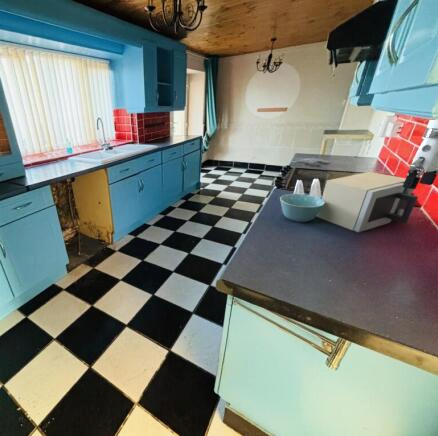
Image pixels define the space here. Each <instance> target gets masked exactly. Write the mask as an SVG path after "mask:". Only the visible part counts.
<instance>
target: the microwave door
mask: <svg viewBox="0 0 438 436" xmlns="http://www.w3.org/2000/svg"><path fill="white" fill-rule="evenodd" d="M403 184H404V183H398V184H394V185H390V186H386V187H382V188H377V189H373V190H369V191H368V192H367V195H366V198H365V200H364V203H363V206H362V209H361V212H360V214H359V217H358V220H357V223H356V226H355V228H354V230H353V231H354V232H356V233H361V232H364V231H367V230H371V229H374V228H377V227H380V226H384V225H386V224H390V223H391V222H392V221H391V219H392V220H394V221H395V222H398V223H402V224H406V223H407V222H408V221H409V219H410V218H409V217H410V216H411V214H412V212H413V209H414V207H415V205H416V203H417V200H418V199H419V196H418V195H413V194H411V195H410V194H405V193H403V190H404V187H403ZM400 199H403V200H407V201H408V203H407V205H406V208H405V210H404V212H403V215H402V216H401V215H397V214H394V212H395V209H396V207H397V205H398V202H399V200H400ZM390 221H391V222H390Z"/></svg>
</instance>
